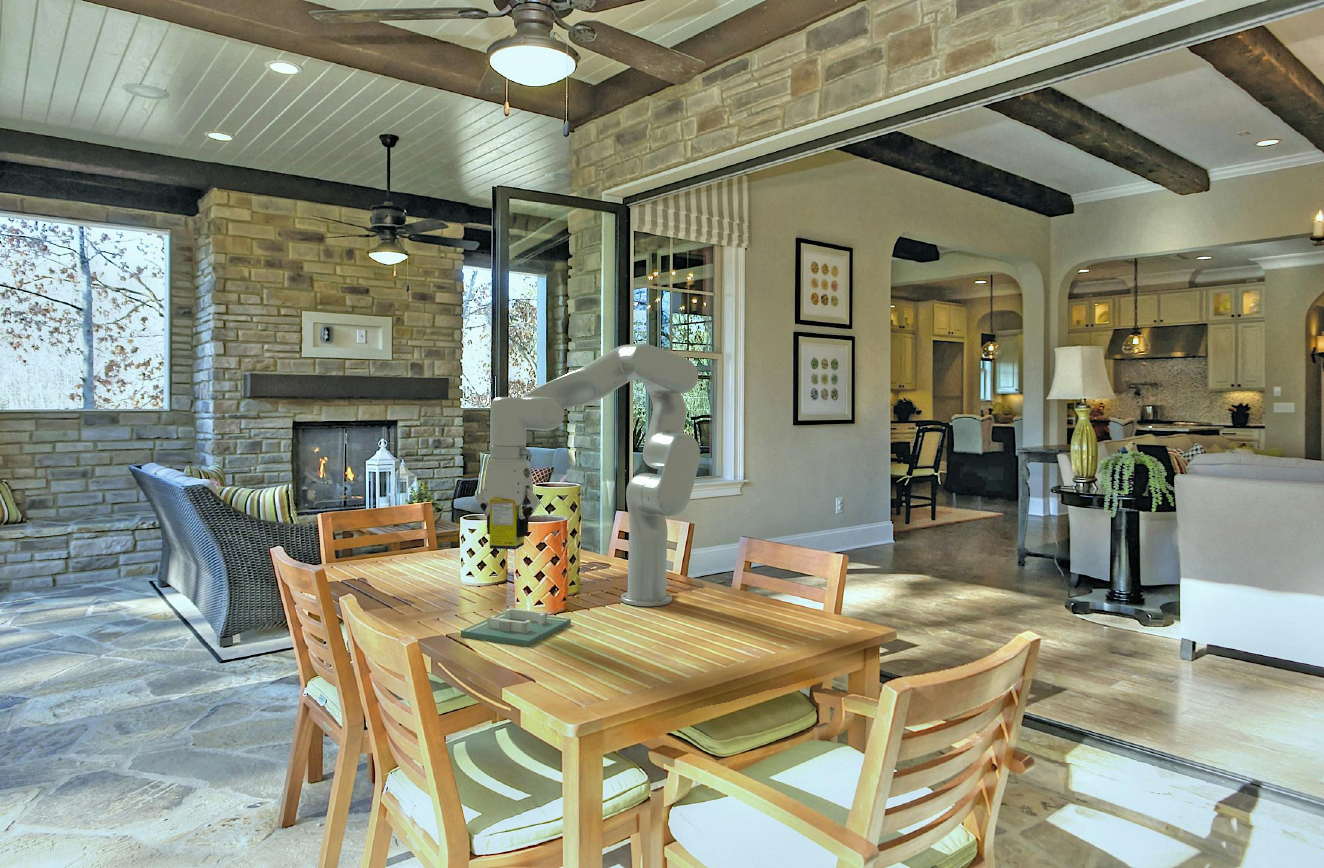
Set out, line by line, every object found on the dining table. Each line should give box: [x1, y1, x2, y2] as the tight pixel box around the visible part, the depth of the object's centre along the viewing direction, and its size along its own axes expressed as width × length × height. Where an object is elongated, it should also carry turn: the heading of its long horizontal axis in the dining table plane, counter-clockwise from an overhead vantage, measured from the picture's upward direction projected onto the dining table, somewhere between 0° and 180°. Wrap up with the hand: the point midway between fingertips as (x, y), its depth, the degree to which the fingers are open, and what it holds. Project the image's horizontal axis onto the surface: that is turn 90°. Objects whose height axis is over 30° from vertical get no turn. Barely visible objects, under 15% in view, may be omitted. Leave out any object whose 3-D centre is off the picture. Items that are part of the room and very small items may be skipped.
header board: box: [460, 607, 572, 648], centre depth 170 cm, size 18×16×3 cm
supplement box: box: [489, 498, 525, 550], centre depth 175 cm, size 6×6×11 cm
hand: (507, 534), depth 175 cm, fingers closed on supplement box, 7 cm apart
